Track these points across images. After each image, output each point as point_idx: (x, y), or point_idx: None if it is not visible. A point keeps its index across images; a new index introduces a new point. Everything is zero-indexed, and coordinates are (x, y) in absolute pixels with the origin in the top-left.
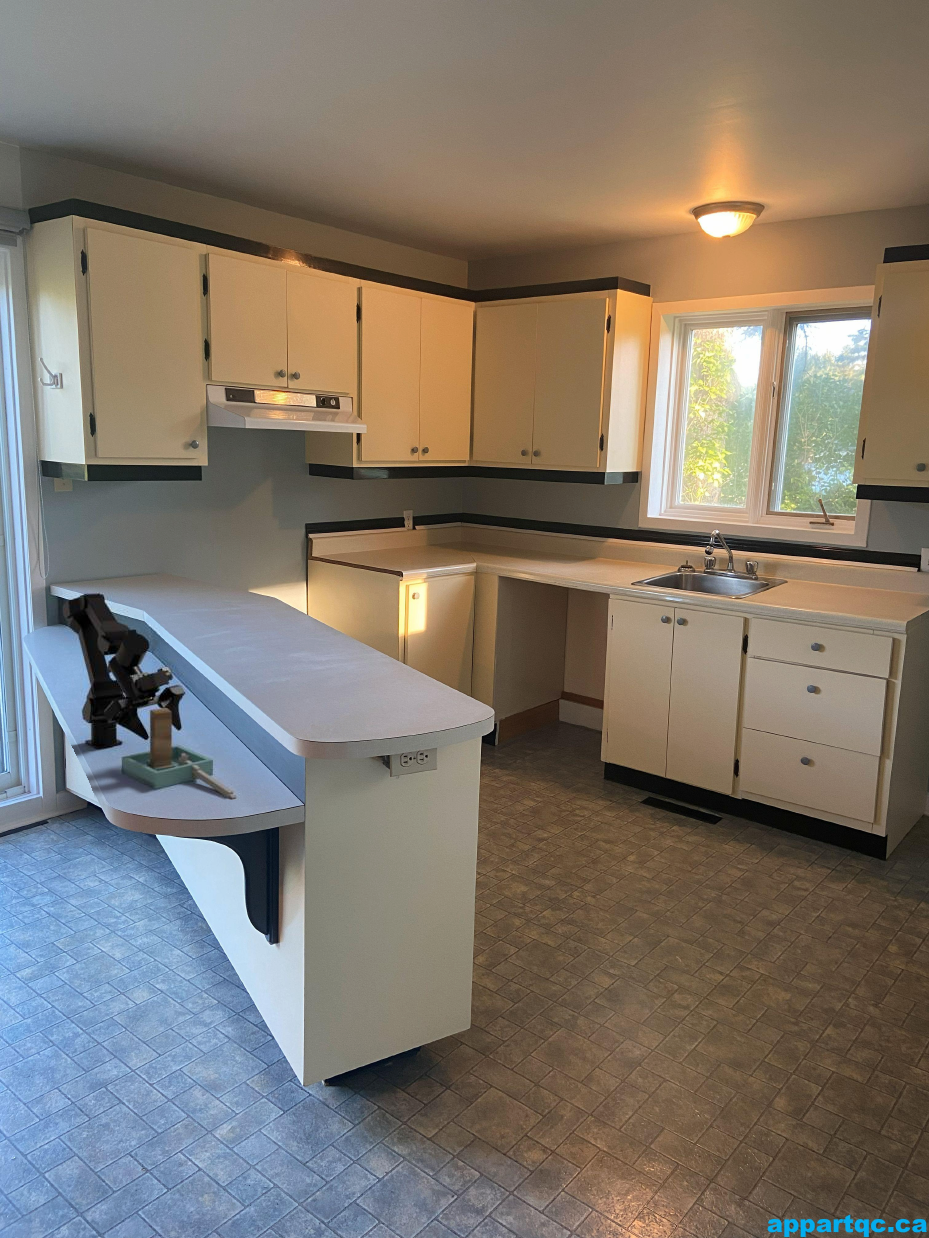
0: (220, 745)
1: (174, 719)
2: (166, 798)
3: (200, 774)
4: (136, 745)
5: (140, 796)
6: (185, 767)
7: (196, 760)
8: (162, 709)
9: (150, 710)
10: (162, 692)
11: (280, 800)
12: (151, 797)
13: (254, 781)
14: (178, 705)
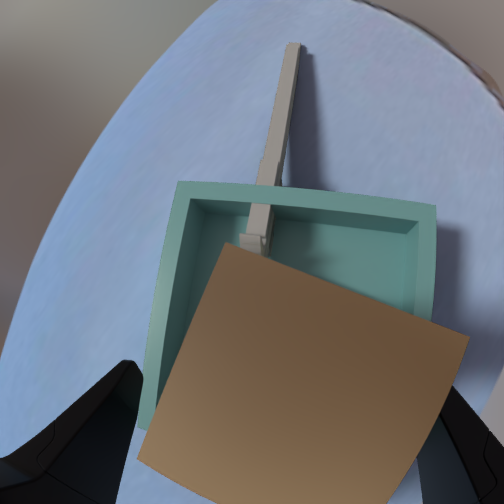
0: (30, 383)
1: (105, 429)
2: (429, 146)
3: (283, 144)
4: None
5: (476, 212)
6: (304, 191)
7: (184, 273)
8: (223, 458)
9: None
10: None
11: (236, 6)
12: (457, 182)
13: (175, 95)
14: (7, 456)
